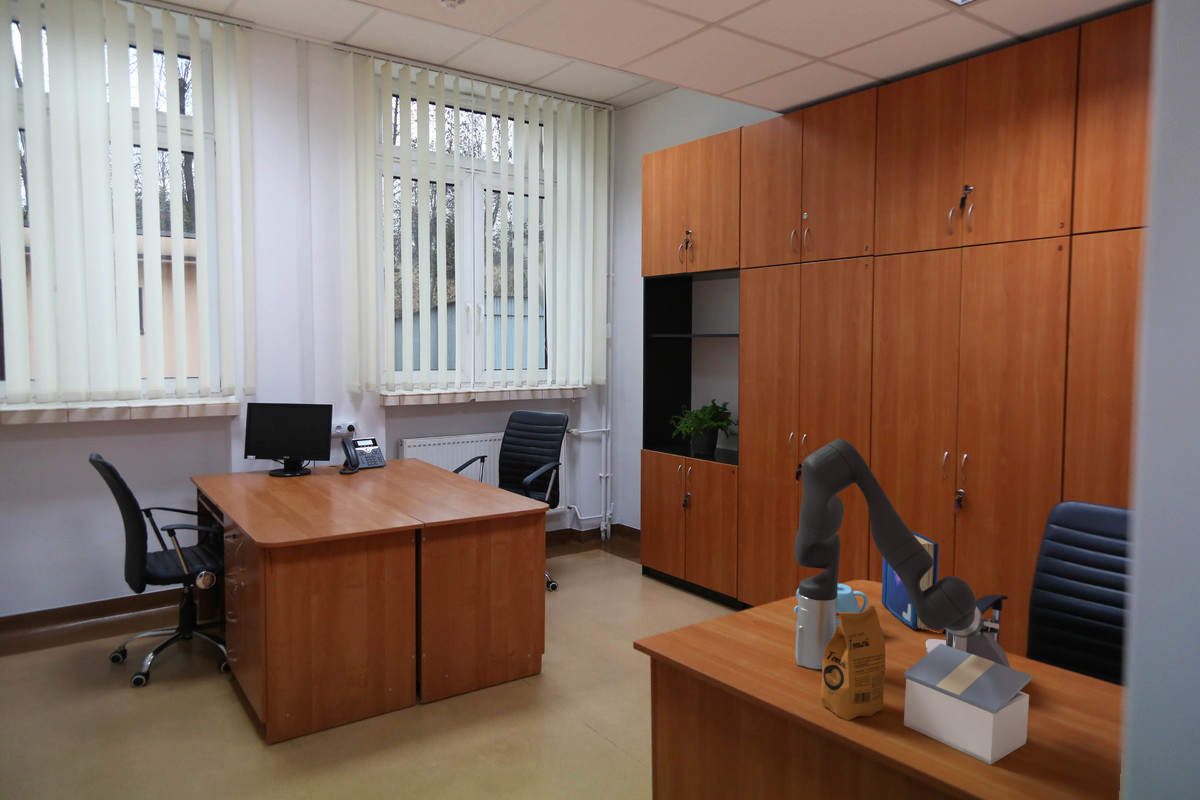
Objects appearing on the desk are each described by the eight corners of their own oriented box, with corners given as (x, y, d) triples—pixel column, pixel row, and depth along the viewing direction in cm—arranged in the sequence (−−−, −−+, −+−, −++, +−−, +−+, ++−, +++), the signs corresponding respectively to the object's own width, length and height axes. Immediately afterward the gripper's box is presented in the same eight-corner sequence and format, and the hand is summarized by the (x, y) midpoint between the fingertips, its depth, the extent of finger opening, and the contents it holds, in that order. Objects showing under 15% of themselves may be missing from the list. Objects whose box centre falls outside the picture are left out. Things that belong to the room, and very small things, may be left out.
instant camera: (927, 653, 194) (930, 596, 193) (1018, 672, 184) (1022, 612, 183) (915, 684, 176) (918, 622, 175) (1015, 707, 166) (1019, 641, 165)
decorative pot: (824, 642, 200) (826, 592, 199) (788, 621, 215) (790, 574, 214) (873, 635, 206) (875, 586, 205) (835, 614, 221) (837, 569, 220)
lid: (996, 713, 141) (995, 709, 141) (904, 676, 156) (903, 672, 156) (1031, 678, 149) (1031, 674, 148) (940, 646, 164) (940, 643, 164)
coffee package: (813, 702, 166) (817, 605, 164) (856, 693, 171) (861, 598, 169) (845, 724, 157) (849, 621, 155) (890, 713, 162) (894, 613, 160)
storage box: (990, 764, 142) (993, 713, 141) (903, 724, 157) (906, 678, 156) (1026, 743, 150) (1029, 694, 149) (940, 707, 165) (943, 662, 164)
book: (877, 604, 230) (880, 524, 228) (899, 604, 231) (903, 524, 229) (912, 631, 209) (916, 543, 207) (936, 631, 209) (941, 543, 207)
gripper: (997, 601, 147) (1007, 614, 160) (925, 591, 154) (940, 605, 168) (995, 641, 144) (1006, 650, 158) (922, 629, 152) (938, 639, 165)
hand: (972, 627), depth 163 cm, fingers closed
